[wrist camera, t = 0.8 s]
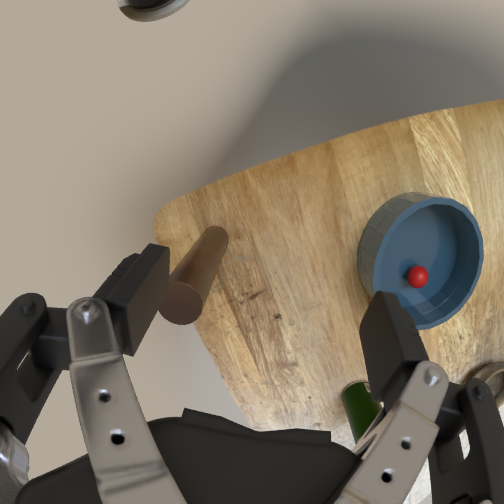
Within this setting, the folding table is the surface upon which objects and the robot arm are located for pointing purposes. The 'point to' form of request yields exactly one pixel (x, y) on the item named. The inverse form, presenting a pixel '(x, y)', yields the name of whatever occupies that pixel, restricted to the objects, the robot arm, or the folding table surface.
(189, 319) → the brown wooden rod
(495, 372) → the bowl
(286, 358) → the folding table surface
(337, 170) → the folding table surface
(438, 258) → the mixing bowl
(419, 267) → the cherry
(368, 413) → the beer can
